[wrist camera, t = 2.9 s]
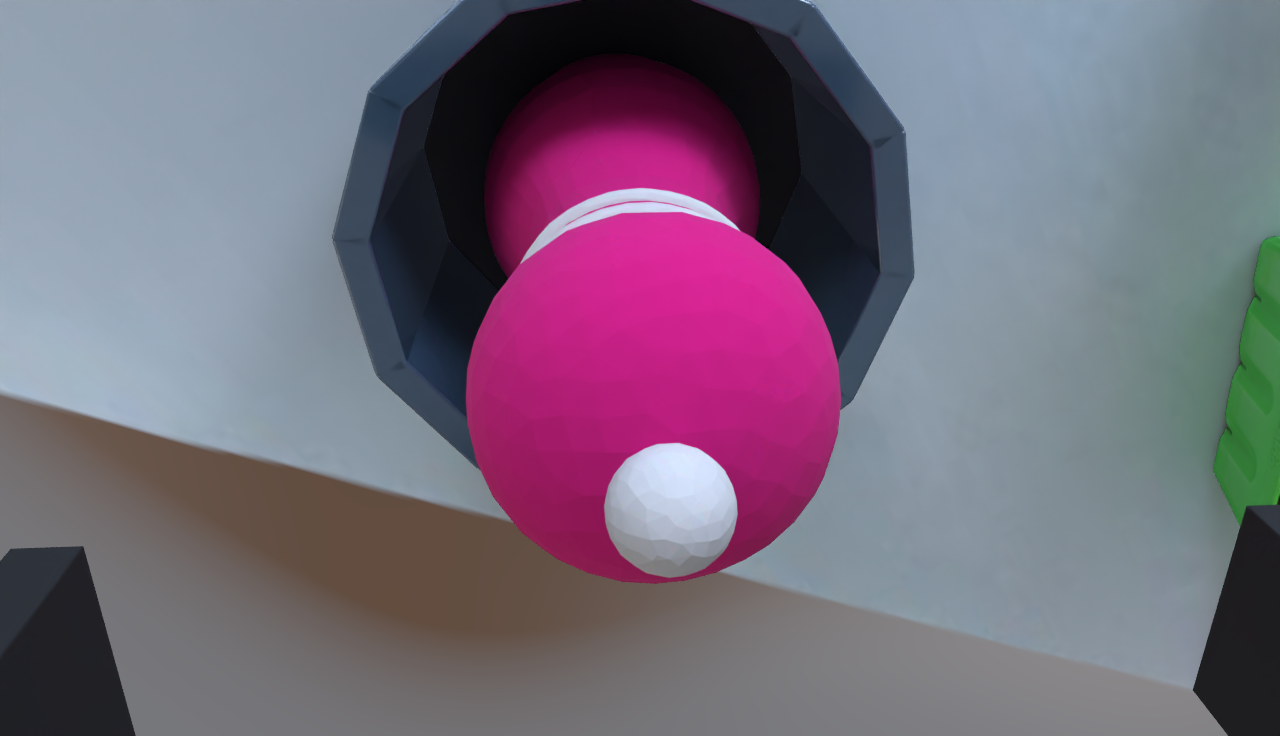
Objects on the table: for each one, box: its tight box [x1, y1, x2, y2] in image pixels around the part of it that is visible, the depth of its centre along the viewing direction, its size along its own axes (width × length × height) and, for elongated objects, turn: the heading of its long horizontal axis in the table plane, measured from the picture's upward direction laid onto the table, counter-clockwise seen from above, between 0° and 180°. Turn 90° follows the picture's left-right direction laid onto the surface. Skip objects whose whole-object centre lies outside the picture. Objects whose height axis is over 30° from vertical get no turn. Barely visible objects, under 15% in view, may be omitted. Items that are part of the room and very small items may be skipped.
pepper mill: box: [466, 53, 841, 584], centre depth 22 cm, size 7×7×20 cm
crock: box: [332, 0, 914, 470], centre depth 27 cm, size 13×13×9 cm
